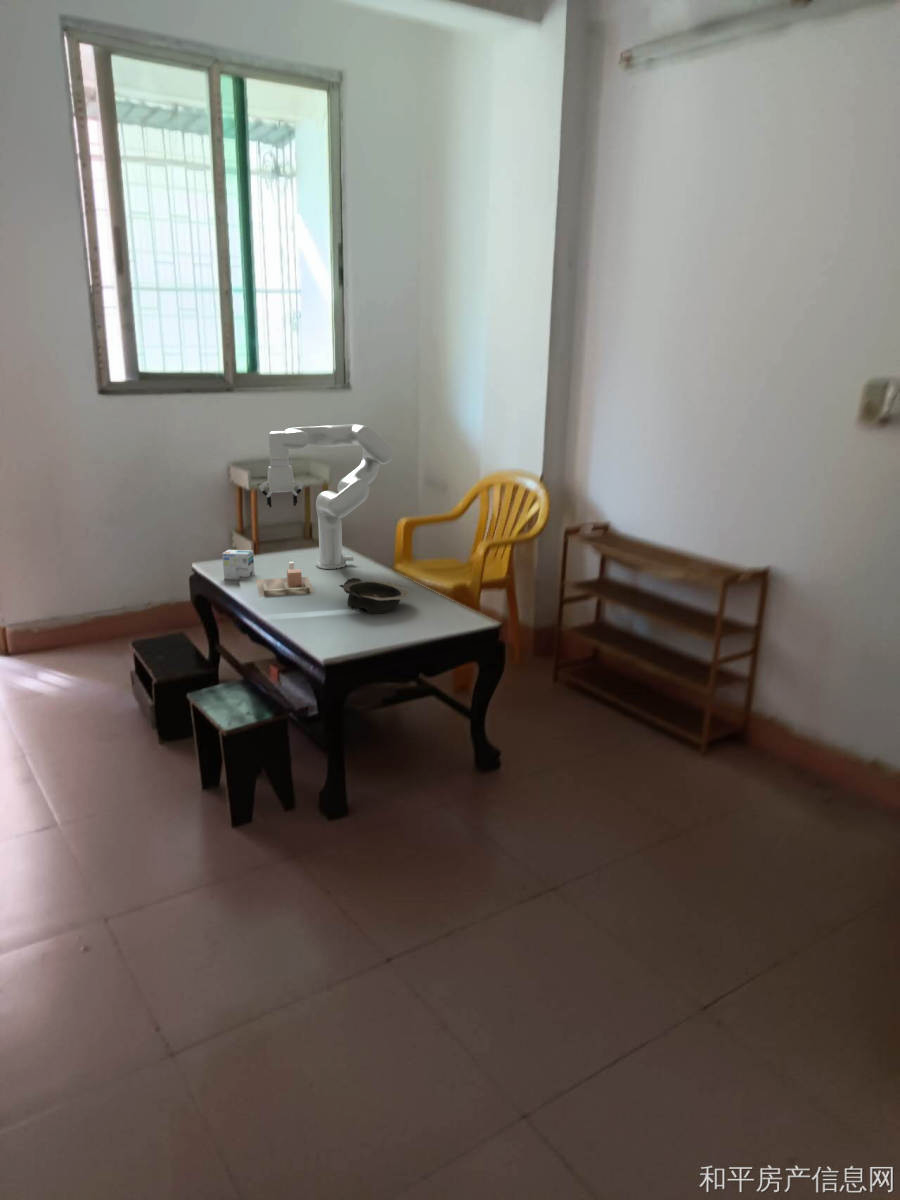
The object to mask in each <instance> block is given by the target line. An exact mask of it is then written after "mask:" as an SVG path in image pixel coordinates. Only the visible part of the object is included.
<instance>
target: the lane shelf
mask: <svg viewBox="0 0 900 1200" xmlns="http://www.w3.org/2000/svg"><path fill="white" fill-rule="evenodd" d="M255 581H256V585H257V590H258V596H259V597H273V596H274V597H275V596H289V595H303V594H304V595H305V594H306V595H307V594H314V593H315V590H314V588H313V585H312V583H311V582H310V579H309V577H308V576H302V585H293V586H289V585H288V583H287V577H284V578H283V577H281V578H279V577H278V578H265V579H264V578H262V579H255Z"/></svg>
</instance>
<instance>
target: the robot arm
mask: <svg viewBox="0 0 900 1200" xmlns="http://www.w3.org/2000/svg"><path fill="white" fill-rule="evenodd" d="M308 446H318V447H323V448H338V447H347V446H350V447H351V446H358V447H361V449H362V458H361V462H360V463H359V465H358V466H357V467H355V469H353V470H352V471H351V472H350V473H348V474H347V475H346V476H344V477H343V478H341V480H340V481H339V482H338V484H337V492H335V491H332V490H324V491H322V492H320V493H319V494H318V495H317V497H316V500H315V508H316V514H317V523H318V549H319V550H318V551H319V552H318V553H319V560H317V561H316V562H315V566H316V567H317V568H319V569H324V570H335V569H336V568H337V569H341V567H342V568H344V567H346V566H347V561H348V562H352V561H354V556H352V555H351V556H350V555H344V554H343V540H342V539H343V537H342V536H343V532H342V530H343V529H342V526H343V525H342V520H341V519H342V518H344V517H346V516H347V515H349V514H350V513H351V512H353V511H354V510H355V509H357V508H358V507H359V506H360V505H361V504H362V503H364V502H365V501H366V500H367V498H368V496H369V495H370V486H369V485H370V484H371V483H372V482H373V481H374V480H375V479H376V478H377V476H378V474H379V470H380V469H379V468H380V465H387V464H388V463H390V462H391V461H392V460H393V458H394V451H393V449H392V446H390V444H389V443H388V442H386V441H385V440H384V439H383V438H382V437H381V436H380V435H379V434H378V433H377V432H375V431H374V430H373V429H372V428H370V427H369V426H368V425H362V424H360V423H359V424H358V423H350V424H335V425H320V426H300V427H299V426H298V427H296V426H295V427H289V428H286V429H285V430H274V431H270V432H269V433H268V450H269V465H270V466H268V468H267V481H265V482H263V483H262V484H260V485H259V486H258V488H259V490H260V492H261V494H263V495H264V496H265V497H266V503H267V504H266V505H267V506H269V508H272V496H271V495H272V494H273V493H289V492H291V493H292V505H293V506H294V507H296V506H297V504H298V496H299V494H300V493H301V492H302V489H303V487H304V484H303V483H302V482H299V481H297V480H295V479H294V472H293V467H292V465H291V464H294V460H293V459H290V450H296V451H297V450H298V451H299V450H305V449H306V448H307V447H308ZM295 486H298V488H297V489H296V490H295ZM265 487H267V489H268V490H267V491H265V490H266V489H264V488H265ZM345 565H346V566H345ZM337 569H336V570H337Z"/></svg>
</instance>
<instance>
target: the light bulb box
mask: <svg viewBox="0 0 900 1200" xmlns="http://www.w3.org/2000/svg"><path fill="white" fill-rule="evenodd" d="M254 557H255V556H254V549H253V550H249V549H244V550H243V549H227V550H226V551H224V552H222V566H223V578H224V580H238V579H240V577H251V576H254V575H256V572H255V560H254Z"/></svg>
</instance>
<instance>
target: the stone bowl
mask: <svg viewBox="0 0 900 1200" xmlns="http://www.w3.org/2000/svg"><path fill="white" fill-rule="evenodd" d="M339 587H340V588H342V589H343V590H344V592H345V593H346V594H348V596H347V606H348V607H349V608H350V609H351V610H359V609H365V610H366V611H367V612H368V614H373V615H378V614H385V613H388V612H390V611H395V610H396V609H395V608H397V607H398V605H399V603H400V601H401V599H405V598H407V597H408V596H409V595H410V594H411V593H410V590H409V589H407V588H405V587H404V586H401V585H400V584H395V583H392V582H387V581H382V580H363V579H361V578H359V577H358V578H357V577H356V578H355V577H352V578H347V580H346V581H345V582H344V584H341V585H340V584H339ZM394 609H395V610H394Z"/></svg>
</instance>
